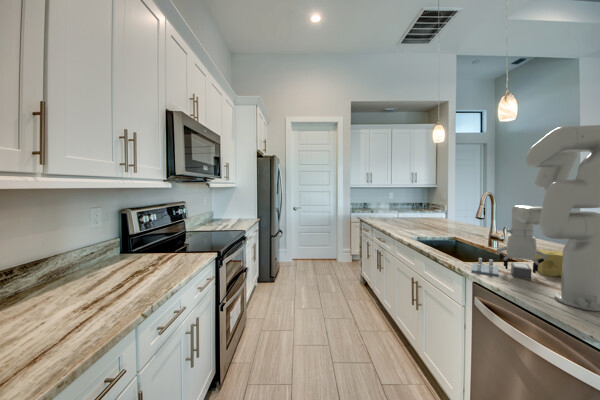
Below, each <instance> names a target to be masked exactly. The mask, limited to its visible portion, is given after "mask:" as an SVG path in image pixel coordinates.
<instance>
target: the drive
mask: <svg viewBox="0 0 600 400" xmlns="http://www.w3.org/2000/svg"><path fill="white" fill-rule="evenodd" d="M510 263H511V264H510V273H511V274H512V277H513V278H517V279H523V280H529V281H532V268H531V267H530V265H529V264H528V263H519V262H512V261H511V262H510Z"/></svg>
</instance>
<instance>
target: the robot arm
mask: <svg viewBox="0 0 600 400" xmlns="http://www.w3.org/2000/svg"><path fill="white" fill-rule="evenodd" d="M580 152H583V153H584V152H587V153H588V152H589V154H588V155H587V156H586V157H584V159H583V160H582V161H581V163H580V164H579V166H578V169H577V173H576V177H575V178H574V179H568V177H569V175H570V174H571V171H572V168H573V167H574V164H575V162H576V159H577V157H578V154H579V153H580ZM525 163H526V165H527V166H529V167H530V168H539V170H538V173H537V176H536V178H535V180H534V184H535V185H536V187H538V188H540V189H542V190H543V191H545V192H544V196H543V201H542V206H531V205H523V204H521V205H513V207H512V208H511V223H510V225H511V226H510V227H511V228H510V229H509V228H508V229H506V233H509V235H508V237H507V241H506V242H507V243H506V245H505V246H503V247H500V248H496V252H497V254H498V255H499V257H501V259H503V267H505V270H508V264H509V260H508V259H509V258H512V259H519V260H520V259H521V260H528V261H532V262H533V263H532V273H533V274H536V273H537V272H539V271H538V265H539V264H540V263H541V262H543V261H544V260H545V259H546V258H547V255H546V254H544V253H542V252H540V251H538V250H539V249H537V239H536V236H534V226H539V230H540V232H541V234H542V235H543V236H545V237H546V238H550V239H552V240H568V241H567V242H566V243H565V245H564V246H563V250H562V251H563V261H562V277H561V286H560V287H561V289H560V290H561V291H560V292H557V293H555V294H554V299H555V300H556V301H558V302H560V303H562V304H565V305H567V306H569V307H573V308H577V309H580V310H585V311H591V312H598V313H599V312H600V213H599V212H597V211H596V212H595V211H587V210H585V211H584V210H575V211H574V210H572V209H599V208H600V124H598V125H597V124H596V125H595V124H594V125H592V124H591V125H570V126H569V125H568V126H565V125H564V126H560V127H559V126H558V127H557V128H555V129H553V130H551V131H550V132H548V133H547V134H546V135H545V136H544V137H542V138H541V139H539V140H538V141H537V142H536V143H535V144H533V145H532V146H531V147H530V149H529V150H528V152H527V154H526V157H525ZM504 251H506V253H505V255H504V254H503V253H502V252H504ZM536 254H539V255H541V256H542V257H541V258H540V259H538V260H536Z"/></svg>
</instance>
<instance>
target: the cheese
mask: <svg viewBox="0 0 600 400" xmlns="http://www.w3.org/2000/svg"><path fill="white" fill-rule="evenodd" d="M537 250H538V251H540V252H542V253H544V254H546V255H547V258H546V259H545V260H544V261H543V262H541V263H540V264H539V265H538V271H537V272H539V273H540V274H541V275H542V276H547V277H560V278H562V261H563V250H562V251H561V250H560V251H557V250H556V251H555V250H543V249H537ZM541 257H542V256H541V255H539V254H536V260H538V259H540V258H541Z"/></svg>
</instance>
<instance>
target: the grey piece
mask: <svg viewBox="0 0 600 400" xmlns="http://www.w3.org/2000/svg"><path fill="white" fill-rule="evenodd" d="M472 263H473V264H472V267H471V273H474V274H481V275H486V276H492V277H493V276H494V277H499V275H500V274H499V266H497V265H494V260H493V259H490V258H489V260H488V264H483V258H482V257H478V263H477V262H475V263H474V262H472Z"/></svg>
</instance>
